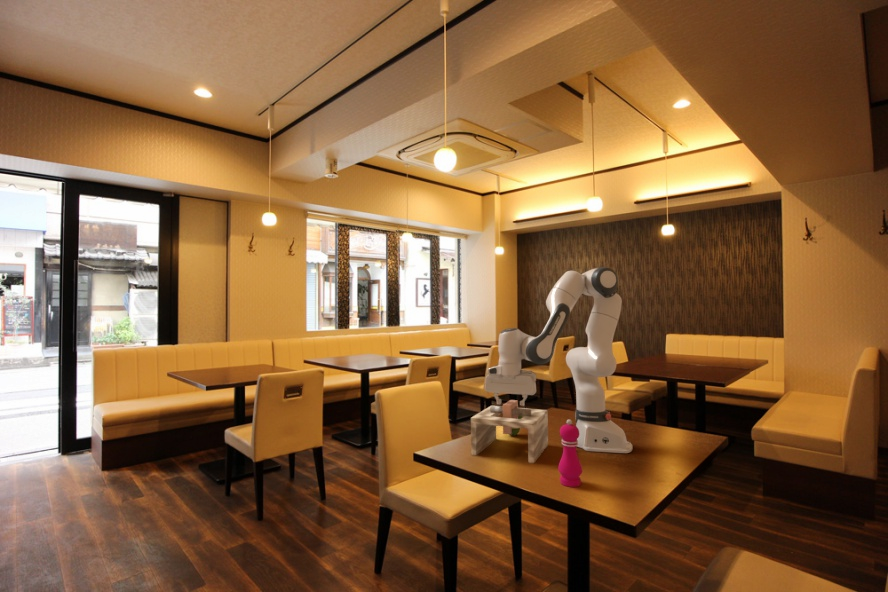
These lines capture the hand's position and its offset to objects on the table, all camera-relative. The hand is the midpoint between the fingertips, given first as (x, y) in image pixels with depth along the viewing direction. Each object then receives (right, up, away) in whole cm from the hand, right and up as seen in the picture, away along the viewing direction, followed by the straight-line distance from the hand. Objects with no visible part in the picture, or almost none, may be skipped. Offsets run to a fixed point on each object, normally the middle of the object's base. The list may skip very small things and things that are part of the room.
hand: (510, 404), depth 179 cm
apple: (+4, -18, +20) cm, 27 cm away
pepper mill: (+14, -17, -35) cm, 41 cm away
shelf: (0, -18, -1) cm, 18 cm away
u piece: (0, -10, 0) cm, 10 cm away
